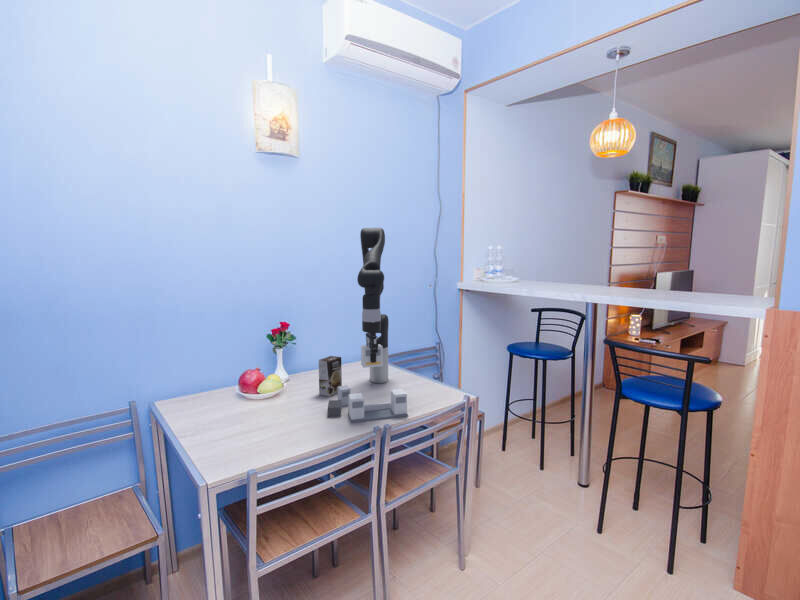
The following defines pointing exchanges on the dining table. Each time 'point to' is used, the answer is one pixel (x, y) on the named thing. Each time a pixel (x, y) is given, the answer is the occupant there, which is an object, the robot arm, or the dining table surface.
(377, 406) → the rail mount
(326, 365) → the coffee box
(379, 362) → the loose module
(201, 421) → the dining table surface
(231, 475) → the dining table surface
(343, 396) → the block
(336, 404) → the block
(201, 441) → the dining table surface
